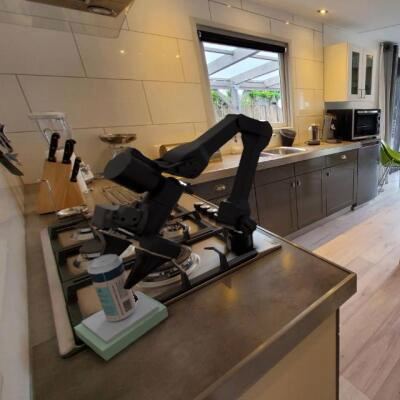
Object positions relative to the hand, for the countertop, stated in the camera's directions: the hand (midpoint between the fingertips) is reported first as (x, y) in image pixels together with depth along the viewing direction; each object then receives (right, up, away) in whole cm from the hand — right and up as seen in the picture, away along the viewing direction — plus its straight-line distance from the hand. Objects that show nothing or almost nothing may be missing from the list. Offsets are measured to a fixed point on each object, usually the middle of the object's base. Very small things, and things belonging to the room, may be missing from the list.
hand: (111, 280), depth 45 cm
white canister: (0, -7, +3) cm, 8 cm away
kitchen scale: (0, -10, +4) cm, 11 cm away
